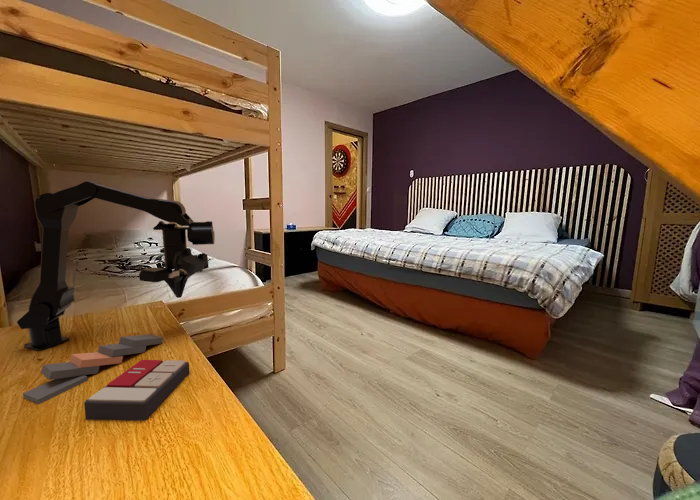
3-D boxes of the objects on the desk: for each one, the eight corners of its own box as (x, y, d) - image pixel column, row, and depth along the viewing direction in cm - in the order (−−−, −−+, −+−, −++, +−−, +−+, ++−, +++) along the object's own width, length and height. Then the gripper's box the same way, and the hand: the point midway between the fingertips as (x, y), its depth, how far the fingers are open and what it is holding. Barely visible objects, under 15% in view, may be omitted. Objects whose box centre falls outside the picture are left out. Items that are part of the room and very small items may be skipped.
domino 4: (131, 348, 77) (97, 352, 70) (132, 341, 77) (99, 345, 70) (144, 352, 76) (111, 356, 68) (146, 345, 76) (113, 349, 68)
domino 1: (88, 366, 68) (40, 372, 62) (90, 359, 69) (43, 364, 62) (97, 373, 66) (49, 379, 59) (99, 365, 66) (51, 371, 59)
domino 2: (73, 378, 65) (24, 400, 58) (72, 371, 65) (22, 393, 58) (88, 383, 64) (39, 407, 56) (87, 376, 63) (38, 399, 56)
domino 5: (149, 340, 82) (118, 343, 74) (150, 334, 82) (120, 336, 75) (162, 343, 80) (132, 347, 73) (163, 337, 80) (134, 340, 73)
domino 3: (110, 357, 72) (69, 361, 65) (112, 351, 73) (71, 354, 66) (121, 363, 70) (79, 367, 63) (123, 356, 70) (82, 360, 63)
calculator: (189, 358, 67) (144, 399, 52) (190, 376, 68) (146, 422, 53) (141, 357, 67) (82, 398, 52) (142, 375, 68) (84, 420, 53)
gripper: (168, 252, 73) (172, 312, 76) (221, 242, 91) (223, 291, 94) (135, 249, 77) (140, 306, 79) (192, 240, 94) (195, 287, 97)
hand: (179, 297), depth 87 cm, fingers closed
